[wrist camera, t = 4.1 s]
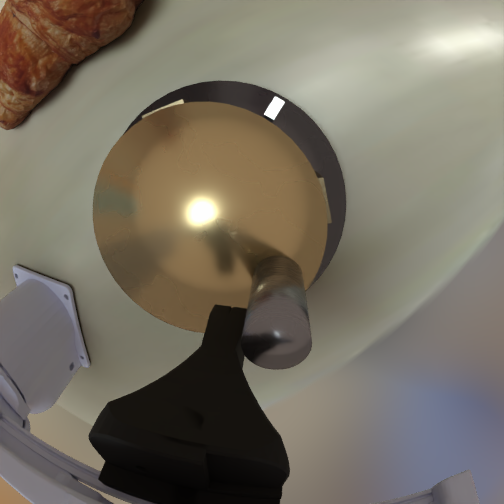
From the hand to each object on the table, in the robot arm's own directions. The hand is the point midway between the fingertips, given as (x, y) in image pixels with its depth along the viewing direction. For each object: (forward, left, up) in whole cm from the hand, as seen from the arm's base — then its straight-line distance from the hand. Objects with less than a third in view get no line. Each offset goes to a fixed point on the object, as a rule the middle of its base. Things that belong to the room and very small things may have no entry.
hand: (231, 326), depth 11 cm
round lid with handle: (+3, +2, -4) cm, 6 cm away
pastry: (+16, +14, -6) cm, 23 cm away
